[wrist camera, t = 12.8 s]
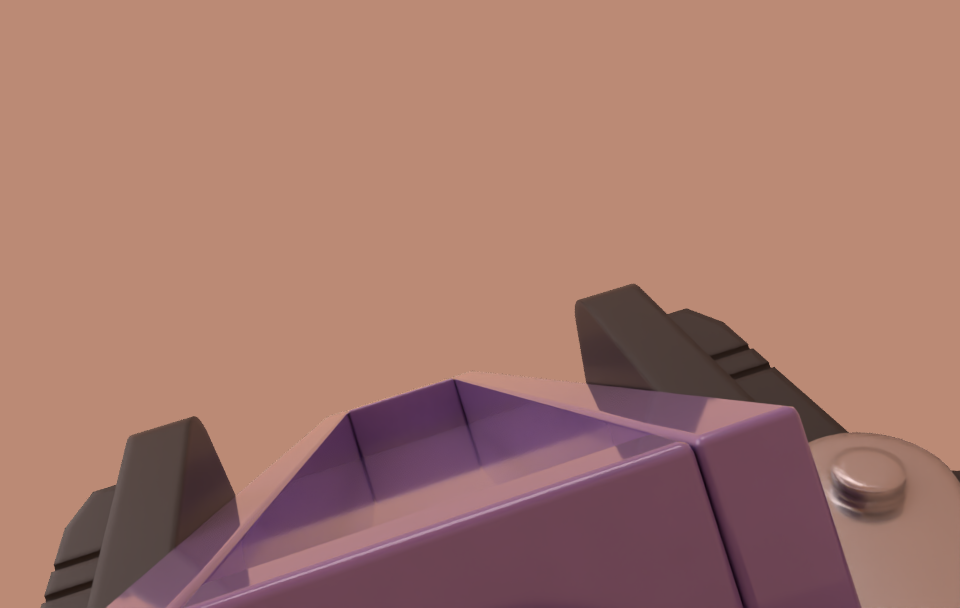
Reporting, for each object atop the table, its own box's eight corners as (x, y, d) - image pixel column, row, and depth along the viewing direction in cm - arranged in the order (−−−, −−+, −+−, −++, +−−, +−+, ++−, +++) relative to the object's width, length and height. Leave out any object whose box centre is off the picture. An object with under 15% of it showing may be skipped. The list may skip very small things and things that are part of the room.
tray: (149, 1061, 4) (34, 662, 4) (347, 488, 24) (325, 416, 24) (914, 753, 5) (799, 402, 5) (495, 440, 25) (473, 370, 25)
